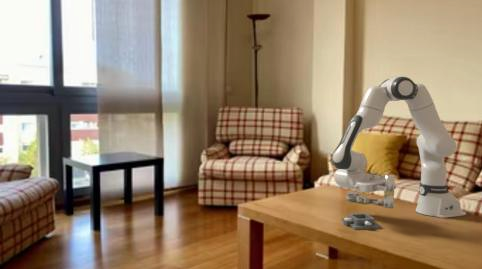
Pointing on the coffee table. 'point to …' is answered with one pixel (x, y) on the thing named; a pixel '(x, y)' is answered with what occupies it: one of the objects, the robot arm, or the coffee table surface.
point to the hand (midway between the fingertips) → (391, 188)
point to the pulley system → (352, 198)
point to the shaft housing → (361, 221)
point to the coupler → (389, 191)
